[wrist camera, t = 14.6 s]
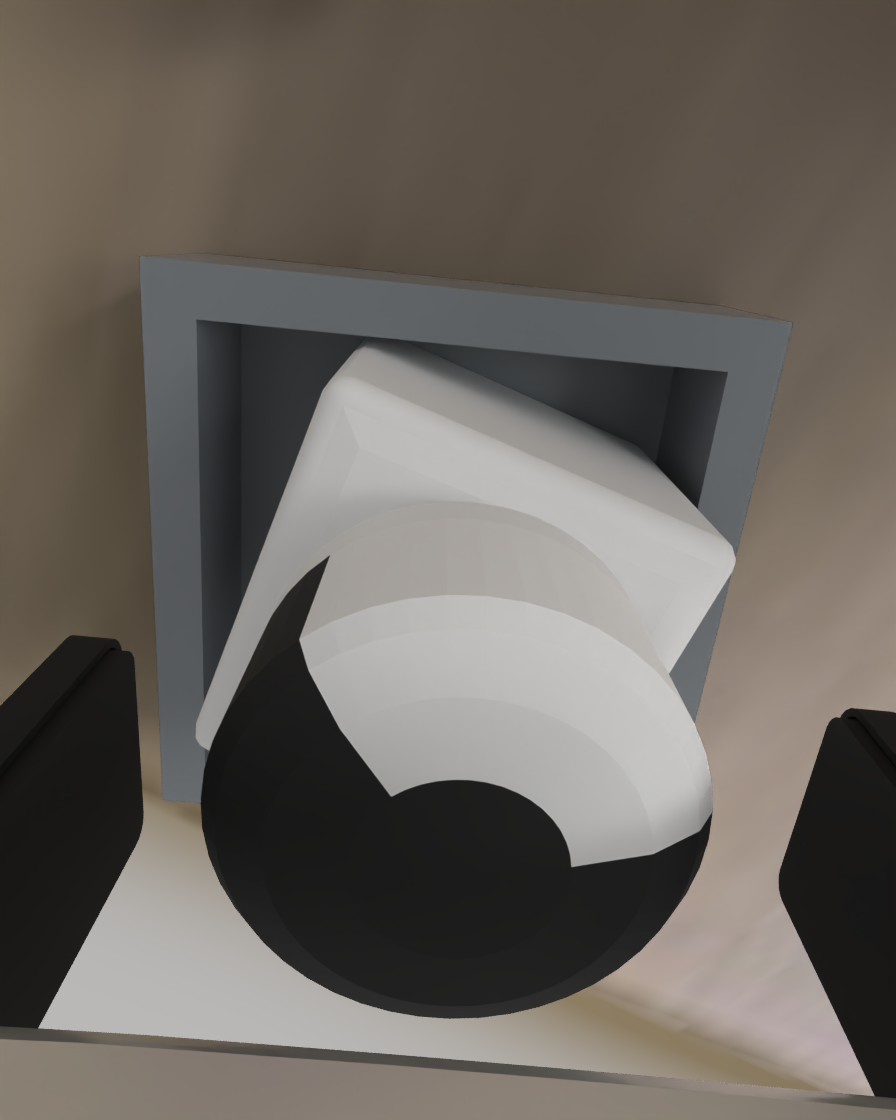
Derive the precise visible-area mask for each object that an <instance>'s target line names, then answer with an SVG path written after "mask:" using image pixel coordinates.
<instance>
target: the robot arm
mask: <svg viewBox="0 0 896 1120" xmlns="http://www.w3.org/2000/svg"><path fill="white" fill-rule="evenodd" d="M142 825H143V796H142V780H141V763H140V747H139V730H138V714H137V698H136V681H135V665H134V657H133V655H132V653H131V652H130V651H122V650H121V646H120V644H119V642H118V641H117V640H116V639H108V638H98V637H87V636H76V635H72V636H69V637H68V638H67V639H65V640H64V642H63V643H62V644H61V645H60V646H59V647H58V648H57V649H56V650H55V651H54V652H53V653H52V654H51V655H50V656H49V657H48V658H47V659H46V660H45V661H44V662H43V663H42V664H41V665H40V666H39V667H38V668H37V669H36V670H35V671H34V672H33V673H32V674H31V675H30V676H29V677H28V678H27V679H26V680H25V681H24V682H23V683H22V684H21V685H20V686H19V688H18V689H17V690H16V691H15V692H14V693H13V694H12V695H11V696H10V697H9V698H8V699H7V700H6V701H5V702H4V703H3V704H2V705H1V706H0V1120H896V713H894V712H887V711H876V710H866V709H855V708H850V709H848V710H846V711H845V712H844V713H843V714H842V715H841V717H840V718H837V717H836V718H833V719H832V720H831V721H830V722H829V724H828V726H827V728H826V731H825V734H824V737H823V741H822V744H821V747H820V750H819V753H818V756H817V759H816V762H815V765H814V768H813V771H812V774H811V777H810V780H809V783H808V786H807V789H806V792H805V795H804V798H803V801H802V805H801V808H800V811H799V814H798V817H797V820H796V823H795V826H794V829H793V832H792V835H791V838H790V841H789V844H788V847H787V850H786V853H785V856H784V859H783V862H782V866H781V869H780V873H779V891H780V896H781V899H782V901H783V904H784V906H785V908H786V910H787V912H788V914H789V916H790V918H791V920H792V922H793V925H794V927H795V929H796V931H797V933H798V935H799V937H800V939H801V941H802V944H803V946H804V948H805V950H806V952H807V954H808V956H809V958H810V960H811V962H812V965H813V967H814V969H815V971H816V973H817V975H818V977H819V979H820V981H821V984H822V986H823V988H824V990H825V992H826V994H827V996H828V998H829V1000H830V1002H831V1005H832V1007H833V1009H834V1011H835V1013H836V1015H837V1017H838V1019H839V1021H840V1024H841V1026H842V1028H843V1030H844V1032H845V1034H846V1036H847V1038H848V1040H849V1042H850V1045H851V1047H852V1049H853V1051H854V1053H855V1055H856V1057H857V1059H858V1061H859V1064H860V1066H861V1068H862V1070H863V1072H864V1074H865V1076H866V1078H867V1080H868V1082H869V1085H870V1087H871V1089H872V1091H873V1093H874V1095H875V1096H864V1095H853V1094H842V1093H831V1092H820V1091H809V1090H808V1091H807V1090H798V1089H786V1088H776V1087H763V1086H754V1085H753V1086H752V1085H742V1084H731V1083H720V1082H709V1081H698V1080H687V1079H675V1078H664V1077H652V1076H640V1075H628V1074H618V1073H606V1072H594V1071H582V1070H571V1069H559V1068H547V1067H535V1066H524V1065H512V1064H499V1063H488V1062H475V1061H464V1060H452V1059H440V1058H427V1057H416V1056H404V1055H392V1054H380V1053H367V1052H354V1051H342V1050H328V1049H316V1048H303V1047H291V1046H278V1045H265V1044H252V1043H239V1042H227V1041H214V1040H200V1039H188V1038H175V1037H163V1036H149V1035H135V1034H117V1033H101V1032H86V1031H70V1030H53V1029H38V1027H39V1025H40V1023H41V1022H42V1020H43V1018H44V1016H45V1014H46V1012H47V1010H48V1008H49V1007H50V1005H51V1003H52V1001H53V999H54V997H55V995H56V994H57V992H58V990H59V988H60V986H61V984H62V982H63V980H64V979H65V977H66V975H67V973H68V971H69V969H70V967H71V965H72V964H73V962H74V960H75V958H76V956H77V954H78V952H79V951H80V949H81V947H82V945H83V943H84V941H85V939H86V938H87V936H88V934H89V932H90V930H91V928H92V926H93V924H94V923H95V921H96V919H97V917H98V915H99V913H100V911H101V909H102V907H103V906H104V904H105V902H106V900H107V898H108V896H109V895H110V893H111V891H112V889H113V887H114V885H115V883H116V881H117V880H118V878H119V876H120V874H121V872H122V870H123V868H124V867H125V865H126V863H127V861H128V859H129V857H130V855H131V853H132V852H133V850H134V848H135V846H136V844H137V841H138V840H139V837H140V833H141V830H142Z"/></svg>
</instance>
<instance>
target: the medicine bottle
mask: <svg viewBox="0 0 896 1120" xmlns="http://www.w3.org/2000/svg"><path fill="white" fill-rule="evenodd" d="M735 562H736V559H735V555H734V551H733V547H732V545H731V544H730V543H729V542H728V541H727V540H726V539H725V538H724V537H723V536H722V535H721V534H720V533H719V532H718V531H717V529H716V528H715V527H714V526H713V525H712V524H711V523H710V522H709V521H708V520H707V519H706V518H705V517H704V516H703V515H702V513H701V512H700V511H699V510H698V509H697V508H696V507H695V506H694V505H693V504H692V503H691V502H690V501H689V500H688V499H687V497H686V496H685V495H684V494H683V493H682V492H681V491H680V490H679V489H678V488H677V487H676V486H675V485H674V484H673V483H672V481H671V480H670V479H669V478H668V477H667V476H666V475H665V474H664V473H663V472H662V471H661V470H660V469H659V468H658V467H657V465H656V464H655V463H654V462H653V461H652V460H651V459H650V458H649V457H648V456H647V455H646V454H645V453H644V452H643V451H642V450H641V449H640V448H639V447H638V446H637V445H634V444H632V443H630V442H628V441H626V440H623V439H621V438H619V437H617V436H614V435H612V434H610V433H608V432H606V431H603V430H601V429H599V428H597V427H594V426H592V425H590V424H588V423H586V422H583V421H581V420H579V419H577V418H574V417H572V416H570V415H568V414H566V413H563V412H561V411H559V410H557V409H554V408H552V407H550V406H548V405H546V404H543V403H541V402H539V401H537V400H534V399H532V398H530V397H528V396H526V395H523V394H521V393H519V392H517V391H514V390H512V389H510V388H508V387H506V386H503V385H501V384H499V383H497V382H494V381H492V380H490V379H488V378H486V377H483V376H481V375H479V374H477V373H474V372H472V371H470V370H468V369H466V368H463V367H461V366H459V365H457V364H454V363H452V362H450V361H448V360H446V359H443V358H441V357H439V356H437V355H434V354H432V353H430V352H428V351H426V350H423V349H421V348H419V347H417V346H414V345H412V344H410V343H408V342H406V341H403V340H400V339H389V338H379V337H369V336H367V337H366V338H365V339H364V340H363V341H362V343H361V344H360V345H359V346H358V347H357V349H356V350H355V351H354V352H353V353H352V355H351V356H350V357H349V358H348V359H347V361H346V362H345V363H344V364H343V365H342V367H341V368H340V369H339V370H338V371H337V373H336V374H335V375H334V376H333V377H332V379H331V380H330V381H329V382H328V384H327V385H326V386H325V388H324V389H323V391H322V393H321V396H320V398H319V401H318V404H317V406H316V409H315V412H314V414H313V417H312V420H311V422H310V425H309V427H308V430H307V433H306V435H305V438H304V441H303V443H302V446H301V448H300V451H299V454H298V456H297V459H296V462H295V464H294V467H293V470H292V472H291V475H290V477H289V480H288V483H287V485H286V488H285V491H284V493H283V496H282V498H281V501H280V504H279V506H278V509H277V512H276V514H275V517H274V519H273V522H272V525H271V527H270V530H269V533H268V535H267V538H266V541H265V543H264V546H263V548H262V551H261V554H260V556H259V559H258V562H257V564H256V567H255V569H254V572H253V575H252V577H251V580H250V583H249V585H248V588H247V591H246V593H245V596H244V598H243V601H242V604H241V606H240V609H239V612H238V614H237V617H236V619H235V622H234V625H233V627H232V630H231V633H230V635H229V638H228V641H227V643H226V646H225V648H224V651H223V654H222V656H221V659H220V662H219V664H218V667H217V669H216V672H215V675H214V677H213V680H212V683H211V685H210V688H209V690H208V693H207V696H206V698H205V701H204V704H203V706H202V709H201V712H200V714H199V717H198V719H197V722H196V739H197V741H198V743H199V744H200V745H201V746H202V747H204V748H205V749H207V750H209V754H208V758H207V761H206V765H205V768H204V774H203V783H202V791H201V814H202V829H203V833H204V837H205V842H206V845H207V850H208V855H209V858H210V860H211V862H212V865H213V867H214V870H215V872H216V874H217V877H218V879H219V882H220V884H221V885H222V887H223V889H224V890H225V892H226V894H227V895H228V897H229V899H230V900H231V902H232V903H233V905H234V907H235V908H236V909H237V911H238V912H239V913H240V914H241V916H242V917H243V918H244V919H245V921H246V922H247V923H248V924H249V926H250V927H251V928H252V929H253V930H254V932H255V933H256V934H257V935H258V936H259V937H260V939H261V940H262V941H263V942H264V943H265V944H266V945H267V946H268V947H269V948H270V949H271V950H272V951H273V952H274V953H276V954H277V955H278V956H279V957H280V958H281V959H282V960H283V961H284V962H286V963H287V964H288V965H290V966H292V967H293V968H294V969H295V970H297V971H298V972H300V973H301V974H303V975H304V976H305V977H307V978H308V979H310V980H312V981H314V982H316V983H318V984H319V985H321V986H323V987H325V988H327V989H329V990H330V991H332V992H334V993H337V994H339V995H342V996H344V997H347V998H349V999H352V1000H354V1001H357V1002H359V1003H362V1004H366V1005H369V1006H373V1007H377V1008H380V1009H383V1010H387V1011H391V1012H397V1013H402V1014H409V1015H414V1016H422V1017H436V1018H449V1019H451V1018H481V1017H489V1016H496V1015H504V1014H511V1013H515V1012H519V1011H523V1010H528V1009H532V1008H536V1007H540V1006H543V1005H546V1004H548V1003H551V1002H554V1001H557V1000H560V999H563V998H566V997H568V996H570V995H572V994H574V993H576V992H579V991H581V990H583V989H585V988H587V987H589V986H591V985H593V984H595V983H596V982H598V981H600V980H601V979H603V978H604V977H606V976H608V975H609V974H611V973H612V972H614V971H616V970H617V969H619V968H620V967H621V966H622V965H624V964H625V963H626V962H627V961H628V960H630V959H631V958H632V957H633V956H635V955H636V954H637V953H638V952H640V951H641V950H642V949H643V948H644V946H645V945H646V944H647V943H648V942H649V941H650V940H651V939H652V938H653V937H654V936H655V935H656V934H657V933H658V932H659V931H660V929H661V928H662V927H663V925H664V924H665V923H666V921H667V920H668V919H669V917H670V916H671V914H672V913H673V912H674V910H675V909H676V907H677V906H678V905H679V903H680V902H681V900H682V899H683V898H684V896H685V895H686V893H687V891H688V889H689V887H690V885H691V883H692V881H693V879H694V878H695V876H696V874H697V872H698V870H699V868H700V865H701V862H702V858H703V855H704V852H705V849H706V846H707V843H708V840H709V833H710V826H711V819H712V812H713V807H712V780H711V776H710V771H709V766H708V761H707V756H706V752H705V749H704V747H703V744H702V742H701V739H700V737H699V734H698V732H697V729H696V726H695V724H694V722H693V720H692V718H691V716H690V714H689V712H688V710H687V708H686V706H685V705H684V703H683V701H682V699H681V697H680V695H679V693H678V691H677V689H676V687H675V685H674V683H673V681H672V679H671V677H670V675H669V673H670V671H671V670H672V668H673V666H674V665H675V663H676V662H677V660H678V658H679V657H680V655H681V654H682V652H683V650H684V649H685V647H686V645H687V644H688V642H689V641H690V639H691V637H692V636H693V634H694V633H695V631H696V629H697V628H698V626H699V625H700V623H701V621H702V620H703V618H704V616H705V615H706V613H707V612H708V610H709V608H710V607H711V605H712V604H713V602H714V600H715V599H716V597H717V595H718V594H719V592H720V591H721V589H722V587H723V586H724V584H725V583H726V581H727V579H728V578H729V576H730V574H731V573H732V571H733V569H734V565H735Z"/></svg>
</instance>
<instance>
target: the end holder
mask: <svg viewBox="0 0 896 1120" xmlns="http://www.w3.org/2000/svg"><path fill="white" fill-rule="evenodd" d="M139 264H140V287H141V310H142V333H143V356H144V379H145V402H146V426H147V449H148V472H149V495H150V518H151V541H152V564H153V587H154V610H155V633H156V656H157V679H158V702H159V725H160V748H161V771H162V794H163V800H168V801H181V802H194V803H201V791H202V783H203V774H204V768H205V765H206V761H207V758H208V754H209V750H207V749H205V748H204V747H202V746H201V745H200V744H199V743H198V741H197V739H196V722H197V719H198V717H199V714H200V712H201V709H202V706H203V704H204V701H205V698H206V696H207V693H208V690H209V688H210V685H211V683H212V680H213V677H214V675H215V672H216V669H217V667H218V664H219V662H220V659H221V656H222V654H223V651H224V648H225V646H226V643H227V641H228V638H229V635H230V633H231V630H232V627H233V625H234V622H235V619H236V617H237V614H238V612H239V609H240V606H241V604H242V601H243V598H244V596H245V593H246V591H247V588H248V585H249V583H250V580H251V577H252V575H253V572H254V569H255V567H256V564H257V562H258V559H259V556H260V554H261V551H262V548H263V546H264V543H265V541H266V538H267V535H268V533H269V530H270V527H271V525H272V522H273V519H274V517H275V514H276V512H277V509H278V506H279V504H280V501H281V498H282V496H283V493H284V491H285V488H286V485H287V483H288V480H289V477H290V475H291V472H292V470H293V467H294V464H295V462H296V459H297V456H298V454H299V451H300V448H301V446H302V443H303V441H304V438H305V435H306V433H307V430H308V427H309V425H310V422H311V420H312V417H313V414H314V412H315V409H316V406H317V404H318V401H319V398H320V396H321V393H322V391H323V389H324V388H325V386H326V385H327V384H328V382H329V381H330V380H331V379H332V377H333V376H334V375H335V374H336V373H337V371H338V370H339V369H340V368H341V367H342V365H343V364H344V363H345V362H346V361H347V359H348V358H349V357H350V356H351V355H352V353H353V352H354V351H355V350H356V349H357V347H358V346H359V345H360V344H361V343H362V341H363V340H364V339H365V338H366V337H367V336H369V337H379V338H389V339H400V340H403V341H406V342H408V343H410V344H412V345H414V346H417V347H419V348H421V349H423V350H426V351H428V352H430V353H432V354H434V355H437V356H439V357H441V358H443V359H446V360H448V361H450V362H452V363H454V364H457V365H459V366H461V367H463V368H466V369H468V370H470V371H472V372H474V373H477V374H479V375H481V376H483V377H486V378H488V379H490V380H492V381H494V382H497V383H499V384H501V385H503V386H506V387H508V388H510V389H512V390H514V391H517V392H519V393H521V394H523V395H526V396H528V397H530V398H532V399H534V400H537V401H539V402H541V403H543V404H546V405H548V406H550V407H552V408H554V409H557V410H559V411H561V412H563V413H566V414H568V415H570V416H572V417H574V418H577V419H579V420H581V421H583V422H586V423H588V424H590V425H592V426H594V427H597V428H599V429H601V430H603V431H606V432H608V433H610V434H612V435H614V436H617V437H619V438H621V439H623V440H626V441H628V442H630V443H632V444H634V445H637V446H638V447H639V448H640V449H641V450H642V451H643V452H644V453H645V454H646V455H647V456H648V457H649V458H650V459H651V460H652V461H653V462H654V463H655V464H656V465H657V467H658V468H659V469H660V470H661V471H662V472H663V473H664V474H665V475H666V476H667V477H668V478H669V479H670V480H671V481H672V483H673V484H674V485H675V486H676V487H677V488H678V489H679V490H680V491H681V492H682V493H683V494H684V495H685V496H686V497H687V499H688V500H689V501H690V502H691V503H692V504H693V505H694V506H695V507H696V508H697V509H698V510H699V511H700V512H701V513H702V515H703V516H704V517H705V518H706V519H707V520H708V521H709V522H710V523H711V524H712V525H713V526H714V527H715V528H716V529H717V531H718V532H719V533H720V534H721V535H722V536H723V537H724V538H725V539H726V540H727V541H728V542H729V543H730V544H731V545H732V547H733V551H734V555H735V557H736V553H737V549H738V545H739V541H740V537H741V533H742V529H743V525H744V521H745V517H746V513H747V509H748V504H749V500H750V496H751V492H752V488H753V484H754V480H755V476H756V472H757V468H758V464H759V460H760V456H761V452H762V448H763V444H764V440H765V436H766V431H767V427H768V423H769V419H770V415H771V411H772V407H773V403H774V399H775V395H776V391H777V387H778V383H779V379H780V375H781V371H782V367H783V363H784V359H785V354H786V350H787V346H788V342H789V338H790V334H791V330H792V326H793V322H788V321H784V320H780V319H776V318H771V317H767V316H763V315H759V314H754V313H750V312H746V311H741V310H737V309H733V308H729V307H724V306H717V305H708V304H698V303H688V302H678V301H668V300H659V299H649V298H639V297H629V296H619V295H610V294H600V293H590V292H580V291H570V290H561V289H551V288H541V287H531V286H521V285H512V284H502V283H492V282H482V281H472V280H463V279H453V278H443V277H433V276H424V275H414V274H404V273H394V272H384V271H375V270H365V269H355V268H345V267H335V266H326V265H316V264H306V263H296V262H286V261H277V260H267V259H257V258H247V257H237V256H228V255H218V254H208V253H194V254H174V255H153V256H139ZM730 577H731V574H730V576H729V578H728V579H727V581H726V583H725V584H724V586H723V587H722V589H721V591H720V592H719V594H718V595H717V597H716V599H715V600H714V602H713V604H712V605H711V607H710V608H709V610H708V612H707V613H706V615H705V616H704V618H703V620H702V621H701V623H700V625H699V626H698V628H697V629H696V631H695V633H694V634H693V636H692V637H691V639H690V641H689V642H688V644H687V645H686V647H685V649H684V650H683V652H682V654H681V655H680V657H679V658H678V660H677V662H676V663H675V665H674V666H673V668H672V670H671V671H670V673H669V675H670V677H671V679H672V681H673V683H674V685H675V687H676V689H677V691H678V693H679V695H680V697H681V699H682V701H683V703H684V705H685V706H686V708H687V710H688V712H689V714H690V716H691V718H692V720H693V722H694V723H695V719H696V715H697V711H698V707H699V703H700V699H701V695H702V691H703V687H704V683H705V679H706V675H707V671H708V667H709V663H710V659H711V654H712V650H713V646H714V642H715V638H716V634H717V630H718V626H719V622H720V618H721V614H722V610H723V606H724V602H725V598H726V594H727V590H728V586H729V581H730Z"/></svg>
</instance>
